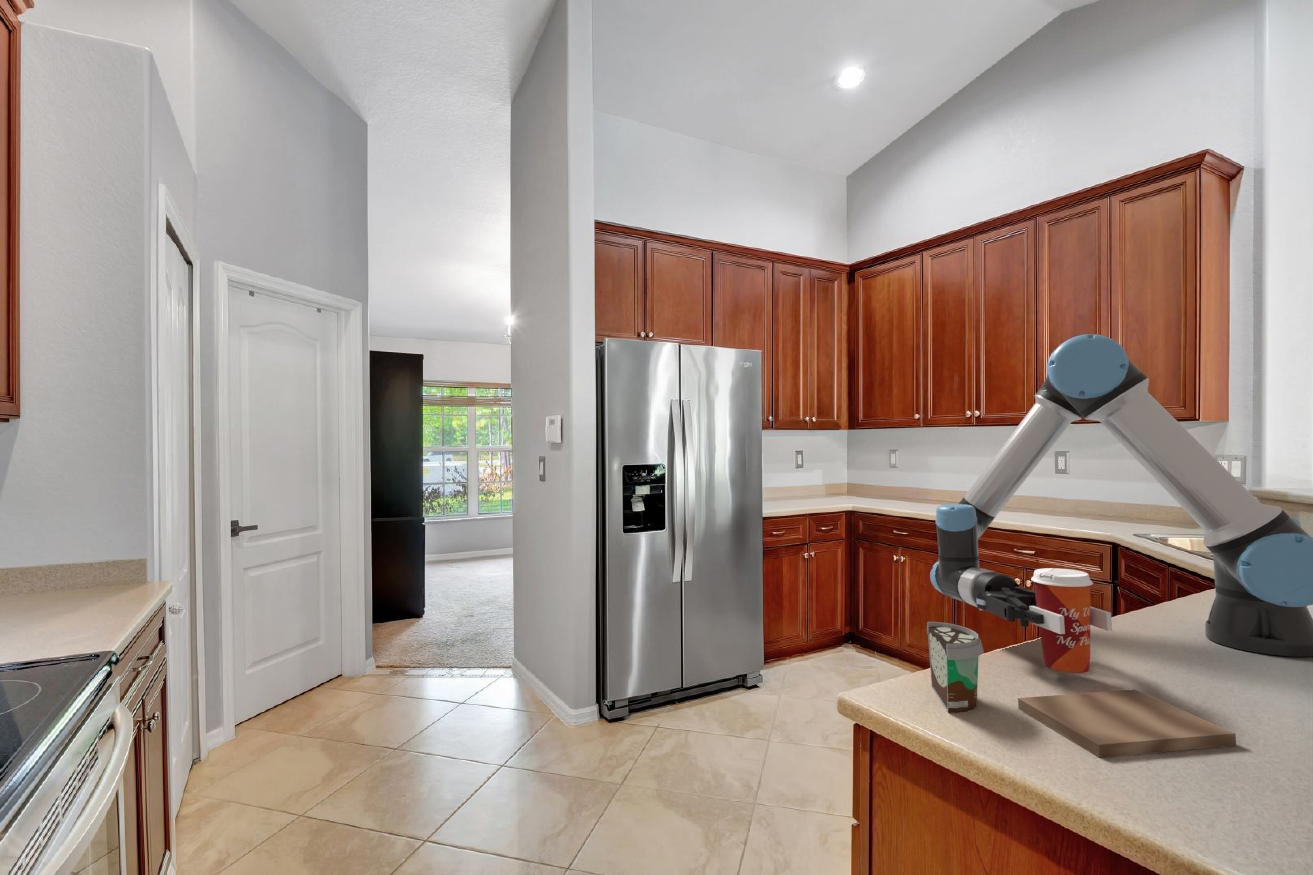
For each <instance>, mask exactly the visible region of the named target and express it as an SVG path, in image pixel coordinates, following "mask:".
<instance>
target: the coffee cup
mask: <svg viewBox="0 0 1313 875" xmlns="http://www.w3.org/2000/svg"><path fill="white" fill-rule="evenodd" d="M1030 580H1031V581H1032V582H1033V586H1034V591H1035V595H1036V603H1037V607H1039V608H1041V609H1044V610H1047V611H1050V612H1053V613H1056V614H1059V615H1062V616H1064V626H1065V634H1058V633H1056V632H1053V631H1051V630H1048V629H1045V628H1043V627H1040V626H1038V627H1039V633H1040V634H1039V635H1040V642H1041V649H1042V655H1043V656H1042V657H1043V662H1044V665H1045V667H1047V668H1048V669H1051V670H1053V671H1056V672H1062V673H1067V674H1084V673H1088V672H1089V671H1090V668H1091V661H1090V660H1091V625H1090V607H1091V586H1092V585H1093V584H1094V582H1093V581H1092V580H1091V578H1090V575H1089V573H1087V572H1086V571H1081V570H1077V569H1069V568H1056V567H1055V568H1054V567H1052V568H1051V567H1049V568H1048V567H1047V568H1044V567H1043V568H1038V569H1037V568H1036V569H1035V570H1034V572H1033V576H1031V579H1030Z"/></svg>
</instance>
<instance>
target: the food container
mask: <svg viewBox="0 0 1313 875" xmlns="http://www.w3.org/2000/svg"><path fill="white" fill-rule="evenodd" d="M926 624H927V625H926V634H927V638H928V653H929V665H930V668H929V669H930V682H931V689H932V690H933V692H934V693H935V695H936V697H937V698H938V700H939V702H940V703H941V705H942V706H943V708H944V709H945V711H946V712H947V714H961V713H968V712H971V711H973V710H975V709H976V708H977V707H978V683H979V681H978V680H979V679H978V678H979V657H980V656H982V655H983V654H984V652H985V651H984V647H983V643H982V640H981V638H980V637H979V634H978V633H977V632H976V631H974V630H972V629H971V628H967V627H964V626H961V625H957V624H954V623H948V622H937V621H927V623H926Z"/></svg>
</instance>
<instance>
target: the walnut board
mask: <svg viewBox="0 0 1313 875" xmlns="http://www.w3.org/2000/svg"><path fill="white" fill-rule="evenodd" d="M1017 706H1018V710H1019V711H1021V712H1023V713H1025V714H1027V716H1029V717H1031V718H1033V719H1034V720H1036V721H1038V722H1040V723H1041V724H1042V725H1044V726H1046V727H1048V728H1050V730H1053V731H1055V732H1056V733H1058V734H1059V735H1061V736H1062V737H1064V738H1066V739H1068V740H1070V741H1071V742H1072V743H1074V744H1076V745H1078V746H1080V747H1081V748H1083V749H1084V750H1086V751H1088V752H1090V754H1091V753H1092V755H1094V756H1096V757H1098V758H1107V757H1108V758H1109V757H1120V756H1121V757H1122V756H1130V755H1131V756H1133V755H1132V754H1134V755H1144V754H1143V753H1146V754H1154V753H1155V754H1156V753H1157V752H1158V753H1166V752H1165V751H1170V752H1180V751H1179V750H1181V751H1189V750H1190V749H1193V750H1202V749H1203V750H1206V749H1212V748H1213V749H1215V748H1224V747H1225V748H1227V747H1237V740H1236V739H1237V737H1236V732H1233V731H1232V730H1229V729H1226V728H1224V727H1221V726H1220V725H1217V724H1215V723H1213V722H1211V721H1208V720H1206V719H1203V718H1201V717H1200V716H1197V715H1194V714H1192V713H1190V712H1187V711H1185V710H1183V709H1181V708H1178V707H1176V706H1174V705H1172V704H1169V703H1167V702H1164V701H1162V700H1160V699H1157V698H1155V697H1153V696H1151V695H1148V694H1146V693H1144V692H1142V691H1139V690H1138V689H1123V690H1110V691H1108V690H1107V691H1096V692H1083V693H1068V694H1057V695H1055V694H1054V695H1043V696H1042V695H1040V696H1030V697H1029V696H1028V697H1018V698H1017ZM1190 751H1191V750H1190ZM1141 753H1142V754H1141Z"/></svg>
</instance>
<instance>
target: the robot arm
mask: <svg viewBox="0 0 1313 875" xmlns="http://www.w3.org/2000/svg"><path fill="white" fill-rule="evenodd" d="M1046 373H1047V375H1046V376H1045V380H1044V381H1043V383H1042V384H1041V386H1040V388H1039V389H1038V391H1037V392H1036V393H1035V394H1034V399H1035V403H1034V404H1033V406H1032V407H1031V408H1030V409H1029V411H1028V412H1027V414H1026V415H1025V416H1024V417H1023V419H1022V420H1021V421H1020V423H1019V424H1018V425H1017V427H1015V429H1014V431H1013V432H1012V433H1011V434H1010V436H1009V437H1008V438H1007V440H1006V441H1004V444H1003V445H1001V446H1002V447H1000V449H999V450H998V452H996V454H995V455H994V457H993V458H992V459H991V460H990V462H989V463H988V465H987V466H986V467H985V469H983V471H982V473H981V474H980V475H979V476H978V477H977V479H976V480H975V482H974V483H973V484H972V486H971V487H970V488H969V489H968V491H967V492H966V494H964V495H963V497H962V499H961V500H960V501H959V503H955V504H954V503H952V504H950V503H948V504H947V503H946V504H941V505H938V506H937V507H936V509H935V511H936V512H935V513H936V514H935V515H936V518H935V524H936V536H937V550H938V558H937V559H938V561H936V562H935V563H934V564H933V565H932V568H931V570H930V572H929V573H930V574H929V577H930V578H929V579H930V582H931V585H932V586H933V587H934V589H935V590H937V591H938V592H940V593H941V594H943V595H945V596H947V597H948V598H951V599H953V600H958V601H960V602H963V603H966V604H968V605H969V606H970V605H971V606H973V607H975V608H976V609H979V611H986V612H987V613H991V614H992V615H995V616H997V617H999V618H1000V619H1003V620H1005V621H1007V622H1010V623H1013V622H1016V620H1018V621H1019V624H1020V626H1021V627H1025V628H1026V627H1027V628H1028V627H1029V625H1030V624H1032V625H1035V626H1038V627H1039V626H1040V627H1043V628H1045V629H1048V630H1051V631H1053V632H1056V633H1058V634H1065V626H1064V616H1062V615H1059V614H1056V613H1053V612H1050V611H1047V610H1044V609H1041V608H1039V607H1037V603H1036V595H1035V590H1032V589H1027V588H1026V587H1022V586H1020V585H1019V584H1018V583H1017V581H1016V580H1015V579H1014V578H1013V577H1011V576H1010V575H1006V574H1003V573H999V572H996V571H993V570H989V569H986V568H981V567H980V556H979V539H980V538H981V537H982V536H983V534H985V532H986V530H987V529H988V528H989V526H990V525H991V524H992V522H993V521H995V520H994V519H996V517H997V516H998V515H999V513H1000V512H1001V511H1002V510H1003V509H1004V508H1005V506H1006V505H1007V503H1008V502H1009V501H1010V500H1011V498H1012V497H1013V496H1014V494H1015V493H1016V492H1017V491H1018V490H1019V488H1020V487H1021V486H1022V485H1023V483H1024V482H1025V481H1026V480H1027V478H1028V477H1029V476H1030V475H1031V473H1032V472H1033V471H1034V470H1035V469H1036V468H1037V466H1038V465H1039V464H1040V462H1041V461H1042V460H1043V458H1044V457H1045V456H1046V454H1048V452H1049V451H1050V450H1051V448H1052V447H1053V446H1054V445H1055V443H1056V442H1057V441H1058V440H1059V438H1060V437H1061V436H1062V435H1063V433H1065V431H1066V429H1067V428H1068V427H1069V426H1070V425H1071V423H1073V422H1077V421H1081V420H1082V418H1083V419H1085V420H1087V421H1096V422H1099V423H1101V424H1102V425H1103V426H1104V427H1105V429H1106V430H1108V432H1110V433H1111V435H1112V436H1114V438H1115V440H1117V441H1118V442H1119V443H1120V444H1121V445H1122V447H1124V448H1125V450H1126V451H1128V452H1129V454H1130V455H1132V456H1133V457H1134V459H1135V460H1136V461H1137V462H1138V463H1139V464H1140V465H1141V466H1142V467H1143V469H1145V470H1146V471H1147V472H1148V474H1150V475H1151V476H1152V477H1153V478H1154V480H1155V481H1156V482H1157V483H1158V484H1159V485H1160V486H1161V487H1163V489H1164V490H1165V491H1166V492H1167V493H1168V494H1169V495H1170V496H1171V497H1172V498H1173V500H1175V502H1176V503H1177V504H1179V506H1180V507H1181V508H1183V510H1184V511H1185V512H1186V513H1187V514H1188V515H1189V516H1190V517H1191V518H1192V520H1194V521H1195V522H1196V524H1198V525H1199V526H1200V528H1202V530H1204V531H1203V532H1204V537H1203V542H1202V543H1203V545H1204V546H1205V547H1206V548H1207V549H1208V550H1209V551H1210V553H1211V554H1212V555H1213V558H1212V559H1213V570H1214V571H1213V572H1214V587H1215V597H1214V600H1213V602H1212V606H1211V608H1210V611H1209V613H1208V614H1209V615H1208V619H1207V620H1206V621H1205V625H1204V629H1205V637H1206V638H1207V639H1208V640H1210V641H1212V642H1214V643H1217V644H1220V645H1223V646H1226V647H1229V648H1234V649H1238V650H1241V651H1246V652H1251V653H1252V652H1253V653H1258V654H1266V655H1273V656H1283V657H1313V617H1312V615H1311V612H1310V610H1309V608H1308V607H1309V606H1313V537H1312V536H1311V535H1309V534H1308V533H1307V532H1306V530H1305V529H1304V528H1302V524H1301V522H1300V520H1299V519H1298V518H1296V517H1293V516H1290V515H1289V514H1288V513H1287V512H1286V511H1285V510H1284V509H1283V508H1281V506H1278V505H1270V504H1264V503H1261V502H1260V501H1259V500H1258V499H1257V498H1256V497H1255V496H1254V495H1253V494H1251V492H1250V491H1249V490H1248V489H1247V488H1245V487H1244V486H1243V484H1242V483H1241V482H1240V481H1238V479H1237V478H1235V477H1234V476H1233V474H1232V473H1230V472H1229V470H1227V469H1226V467H1224V465H1222V464H1221V462H1219V460H1217V459H1216V458H1215V457H1214V456H1213V455H1212V454H1211V453H1210V451H1209V450H1207V449H1206V448H1205V447H1204V446H1203V445H1202V444H1201V443H1200V442H1199V441H1198V440H1197V439H1196V438H1195V437H1194V436H1193V435H1192V434H1191V433H1190V432H1189V431H1188V430H1187V429H1186V428H1185V427H1184V426H1183V425H1182V424H1181V423H1180V422H1179V421H1178V420H1177V419H1176V418H1174V416H1172V414H1170V412H1168V410H1167V409H1165V408H1164V406H1162V404H1160V403H1159V402H1158V400H1156V399H1155V398H1154V397H1153V395H1152V394H1150V393H1149V390H1148V387H1149V382H1150V378H1148V377H1147V376H1146V374H1144V373H1143V371H1142V370H1141V369H1139V368H1138V367H1137V366H1136V364H1134V363H1133V362H1132V361H1131V360H1130V359H1129V357H1128V354H1127V352H1126V350H1125V349H1124V347H1123V346H1122V345H1121V344H1120V343H1119V342H1117V341H1116V340H1114V339H1113V338H1110V337H1107V336H1105V335H1102V334H1096V333H1095V334H1094V333H1091V334H1090V333H1089V334H1088V333H1087V334H1086V333H1085V334H1081V335H1077V336H1073V337H1071V338H1069V339H1067V340H1065V341H1064V342H1062V343H1061V344H1059V346H1058V347H1056V348H1055V349H1054V350H1053V351H1052V352H1051V354H1050V356H1049V358H1048V360H1047V364H1046ZM1112 620H1113V619H1112V612H1111V611H1106V610H1104V609H1100V608H1096V607H1093V606H1090V626H1092V627H1096V628H1099V629H1101V630H1104V631H1108V632H1109V631H1113V622H1112ZM1029 622H1030V624H1029ZM1040 627H1039V628H1040Z"/></svg>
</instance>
